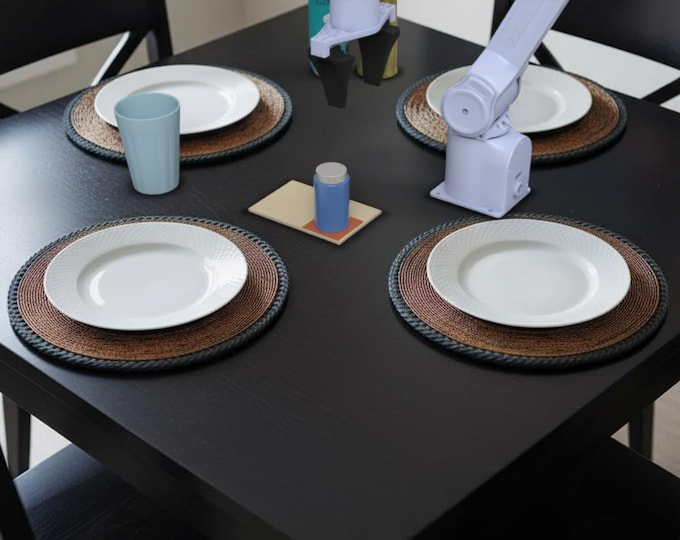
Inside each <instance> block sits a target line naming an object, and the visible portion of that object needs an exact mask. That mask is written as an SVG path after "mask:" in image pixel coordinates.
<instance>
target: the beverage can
mask: <svg viewBox="0 0 680 540" xmlns="http://www.w3.org/2000/svg"><path fill="white" fill-rule="evenodd" d="M307 6H308V7H307V8H308V10H307V12H308V45H309V46H308V48H309V47H311V38H313V37H314V36H316V35H317V34H318V33H319V32H320V30H321V29H322V28H323V27H324V26H325V24H326V23H324V22H323V17H324V16H325V15H327V14H329V13H330V0H307ZM341 50H344V53H345V54H349V42H347V43H345V44H344V45H342V46H341ZM309 64H310V66H311V68H312V71H313V73H314V74H315V75H316V76H318V77H319V75H318V73H317V71H316V69H315V67H314V65H313V64H312V62H311V61H310V60H309Z"/></svg>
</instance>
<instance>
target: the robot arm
mask: <svg viewBox="0 0 680 540" xmlns="http://www.w3.org/2000/svg"><path fill="white" fill-rule="evenodd" d="M569 1H570V0H514V2H513V3H512V5H511V7H510V8H509V10H508V11H507V13H506V14H505V16H504V17H503V19H502V21H501V22H500V24H499V26H498V27H497V29H496V31H495V33H494V34H493V36H492V37H491V39H490V40H489V42H488V43H487V45H486V47H485V48H484V49H483V51H481V53H480V55H479V56H478V57H477V59H475V61H474V62H473V63H472V65H471V66H470V68H468V70H467V71H466V73H465V74H464V75H463V76H462V77H461V78H460V79H459V80H457V82H456V83H454V84H452V85H451V86H449V87H448V88H447V89H446V90H445V91H444V93H443V94H442V96H441V98H440V104H439V109H440V114H441V115H440V116H441V117H442V120H443V122H444V123H445V125H446V126H447V132H446V133H447V135H446V151H445V152H446V153H445V171H444V172H445V173H444V181H442V182H441V183H439V185H437V186H436V187H435V188H433V189H432V190H431V191H430V192H429V196H430V197H432V198H434V199H438V200H441V201H443V202H447V203H450V204H453V205H455V206H460V207H463V208H465V209H468V210H471V211H473V212H474V211H475V212H477V213H481V214H484V215H487V216H490V217H494V218H496V219H500V218H502V217H503V216H505V215H506V214H507V213H508V212H509V211H510V210H511V209H512V208H513V207H515V206H516V205H517V204H519V202H521V200H523V199H524V198H525V197H526V196H527V195H529V193H531V188H530V186H529V180H530V171H531V163H532V162H531V161H532V150H533V146H532V140H531V139H530V137H529V136H527V135H525V134H523V133H522V132H519V131H518V130H516V129H515V128H514V127H513V126H512V117H511V112H510V106H511V105H512V104H514V103H515V102H516V101H517V100H518V97H519V96H520V93H521V90H522V81H523V79H522V78H523V76H524V74H525V72H526V71H527V69H528V68H529V62H530V61H531V59H532V57H533V55H534V54H535V53H536V51H537V49H538V48H539V46H540V45H541V44H542V43H543V40H544V39H545V38H546V37H547V35H548V34H549V32H550V30H551V29H552V27H553V26H554V24H555V23H556V21H557V20H558V18H559V16H560V15H561V14H562V12H563V10H564V9H565V7H566V6H567V4H568V3H569ZM395 16H396V5H392V4H388V3H384V2H382V3H380V0H330V13H329V14H327V15H325V16H324V17H323V22H324V23H326V24H325V26H324V27H323V28H322V29H321V30H320V32H319V33H318V34H317V35H316V36H314V37H313V38H311V47H309V46H308V48H307V51H306V52H307V59H308V60H309V62H310V61H311V62H312V64H313V65H314V67H315V69H316V71H317V73H318V75H319V76H318V75H317V76H318V77H319V79H320V82H321V85H322V88H323V91H324V95H325V98H326V102H327V105H328V106H330V107H334V108H337V109H339V110H340V109H344V108H345V107H346V105H347V100H348V91H349V90H348V88H349V87H348V86H349V80H350V75H351V70H352V69H353V65H354V62H355V60H356V57H357V56H356V55H353V54H349V53H348V54H345V53H344V50H341V46H342V45H344V44H345V43H347V42H348V43H350V42H351V41H353V40H357V43H358V48H359V47H360V52H361V60H362V74H363V76H362V79H363V83H364V84H367V85H370V86H374V87H377V88H378V87H380V86H381V85H382V83H383V80H384V79H383V75H384V72H385V68H386V64H387V61H388V58H389V55H390V52H391V50H392V48H393V46H394V44H395V42H396V40H397V41H398V39H399V37H400V36H401V27H399V26H398V25H397V26H394V25H390V23H391V22H393V21H395Z"/></svg>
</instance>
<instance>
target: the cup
mask: <svg viewBox="0 0 680 540" xmlns="http://www.w3.org/2000/svg"><path fill="white" fill-rule="evenodd" d="M113 113H114V117H115V121H116V124H117V125H116V126H117V129H118V132H119V135H120V136H119V137H120V140H121V143H122V147H123V151H124V155H125V159H126V163H127V166H128V170H129V174H130V178H131V181H132V182H131V183H132V185H133V188H134V189H135V190H136V191H137V192H139V193H141V194H144V195H152V196H153V195H163V194H166V193H170V192H171V191H173V190H175V189H176V188H177V187H178V186H179V184H180V149H181V147H180V142H181V140H180V136H181V135H180V134H181V133H180V132H181V102H180V100H179V99H178V98H177V97H176V96H173V95H171V94H169V93H164V92H140V93H135V94H132V95H128V96H125V97H123V98H121V99H120V100H118V101H117V102H116V103H115V104H114V105H113Z"/></svg>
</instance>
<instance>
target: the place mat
mask: <svg viewBox="0 0 680 540" xmlns="http://www.w3.org/2000/svg"><path fill="white" fill-rule="evenodd" d="M248 212H250V213H252V214H255V215H257V216H260V217H263V218H265V219H268V220H271V221H274V222H276V223H279V224H282V225H284V226H287V227H290V228H293V229H296V230H298V231H301V232H303V233H306V234H309V235H311V236H314V237H317V238H319V239H322V240H325V241H327V242H331V243H333V244H335V245H338V246H340V245H341V244H342V243H344V242H345V241H346V240H348V239H349V238H351V237H352V236H353V235H354V234H356V233H357V232H358V231H360V230H361V229H363V228H364V227H365V226H367V225H368V224H369V223H370V222H372V221H373V220H375V219H376V218H377V217H378V216H380V215H381V214H382V210H381V209H378V208H375V207H373V206H370V205H366V204H364V203H361V202H357V201H356V200H355V201H354V200H352V199H350V225H349V227H348V228H347V229H346V230H344V231H342V232H338V233H326V232H322V231H320V230H318V229H317V228H316V227H315V224H314V188H313V186H311V185H309V184H305V183H302V182H301V181H297V180H294V179H293V180H292V179H291V180H290V181H289V182H287V183H286V184H284V185H283V186H281V187H280V188H278V189H276V190H275V191H274V192H272V193H270V194H268V195H267V196H265V197H264V198H262V199H261V200H260V201H258V202H256V203H255V204H253V205H252V206H250V207H249V208H248Z"/></svg>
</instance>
